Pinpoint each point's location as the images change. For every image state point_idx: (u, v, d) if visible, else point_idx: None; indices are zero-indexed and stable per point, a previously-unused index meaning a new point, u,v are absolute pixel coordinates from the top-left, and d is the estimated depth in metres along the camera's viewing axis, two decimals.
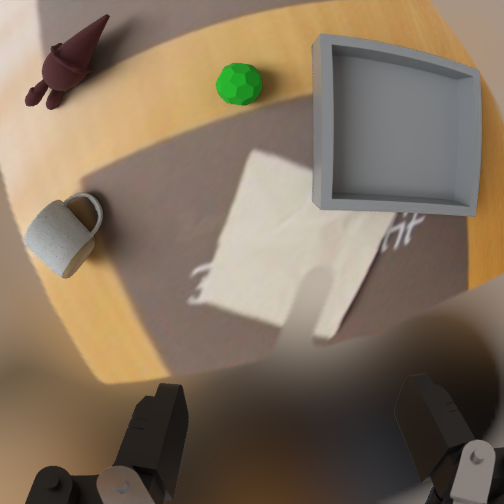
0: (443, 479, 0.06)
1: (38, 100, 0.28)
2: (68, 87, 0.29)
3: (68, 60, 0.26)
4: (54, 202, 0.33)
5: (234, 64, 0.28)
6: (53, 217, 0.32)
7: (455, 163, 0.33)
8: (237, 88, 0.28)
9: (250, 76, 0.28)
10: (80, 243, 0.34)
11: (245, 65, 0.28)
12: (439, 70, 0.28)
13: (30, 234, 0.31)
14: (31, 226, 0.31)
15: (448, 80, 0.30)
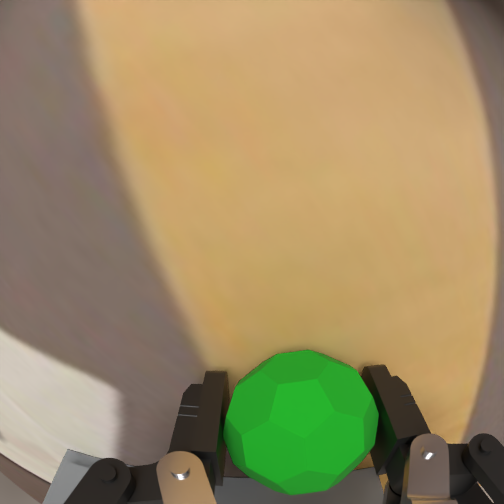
0: (395, 472, 0.07)
1: None
2: None
3: None
4: None
5: (372, 439, 0.08)
6: None
7: None
8: (274, 482, 0.07)
9: None
10: None
11: (358, 463, 0.08)
12: None
13: None
14: None
15: None
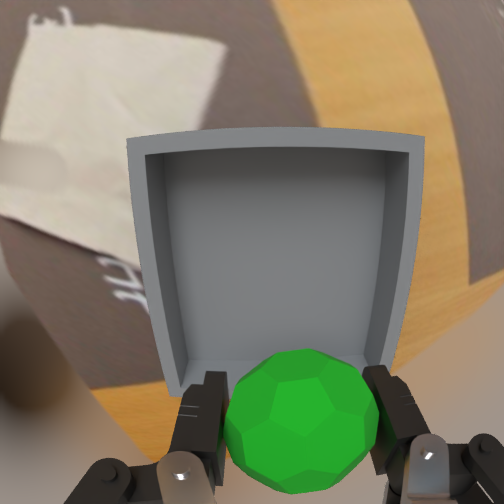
0: (395, 472, 0.07)
1: None
2: None
3: None
4: None
5: (372, 438, 0.08)
6: None
7: (241, 358, 0.28)
8: (274, 481, 0.07)
9: None
10: None
11: (358, 462, 0.08)
12: (376, 330, 0.24)
13: None
14: None
15: (361, 342, 0.27)
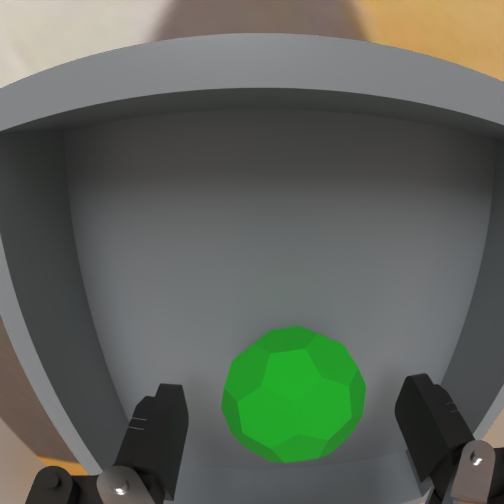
0: (443, 479, 0.06)
1: None
2: None
3: None
4: None
5: (359, 409, 0.09)
6: None
7: (224, 466, 0.15)
8: (268, 447, 0.08)
9: None
10: None
11: (348, 434, 0.09)
12: None
13: None
14: None
15: None
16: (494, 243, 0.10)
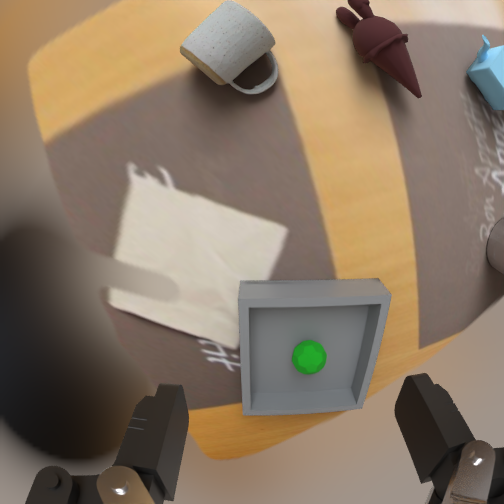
0: (443, 479, 0.06)
1: (351, 5, 0.25)
2: (355, 38, 0.28)
3: (384, 49, 0.26)
4: (274, 43, 0.28)
5: (325, 359, 0.40)
6: (259, 45, 0.26)
7: (282, 391, 0.47)
8: (304, 367, 0.39)
9: (313, 372, 0.40)
10: (225, 75, 0.28)
11: (323, 366, 0.41)
12: (358, 378, 0.44)
13: (244, 15, 0.24)
14: (253, 19, 0.24)
15: (350, 382, 0.47)
16: (368, 318, 0.41)
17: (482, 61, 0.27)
